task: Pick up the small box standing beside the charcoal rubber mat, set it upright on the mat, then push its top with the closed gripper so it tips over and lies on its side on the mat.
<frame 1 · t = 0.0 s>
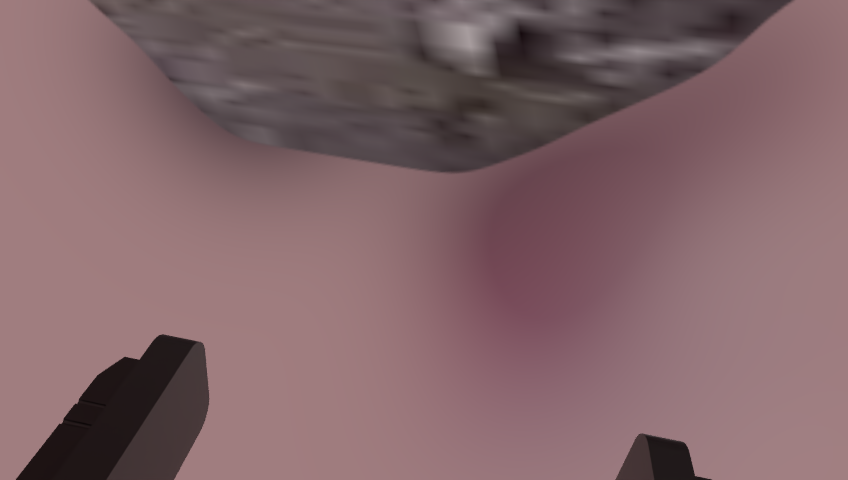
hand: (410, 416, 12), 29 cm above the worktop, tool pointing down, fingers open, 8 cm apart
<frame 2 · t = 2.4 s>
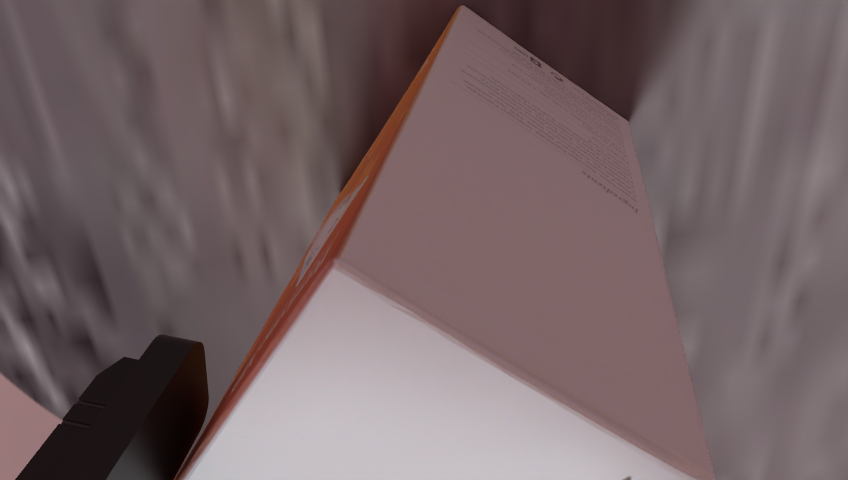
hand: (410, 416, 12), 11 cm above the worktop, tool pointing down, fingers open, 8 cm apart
small box: (472, 157, 21), on the worktop, touching gripper
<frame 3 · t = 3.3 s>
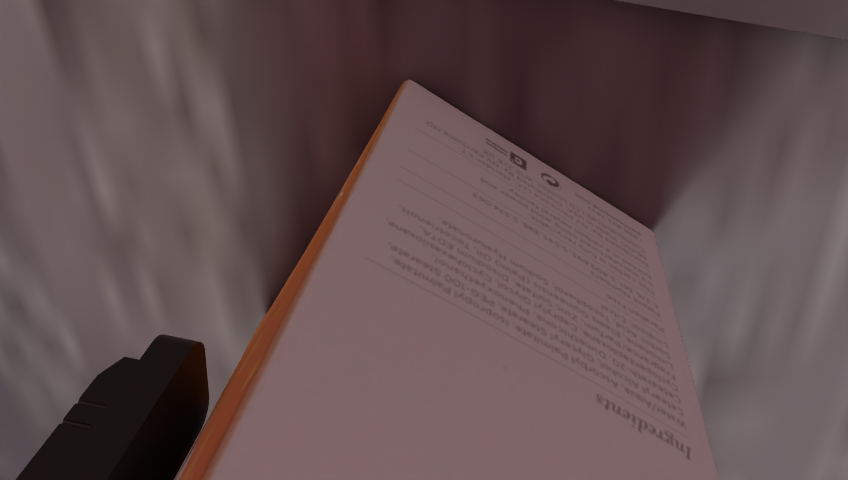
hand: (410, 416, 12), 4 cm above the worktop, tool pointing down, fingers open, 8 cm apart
small box: (438, 273, 15), on the worktop, touching gripper
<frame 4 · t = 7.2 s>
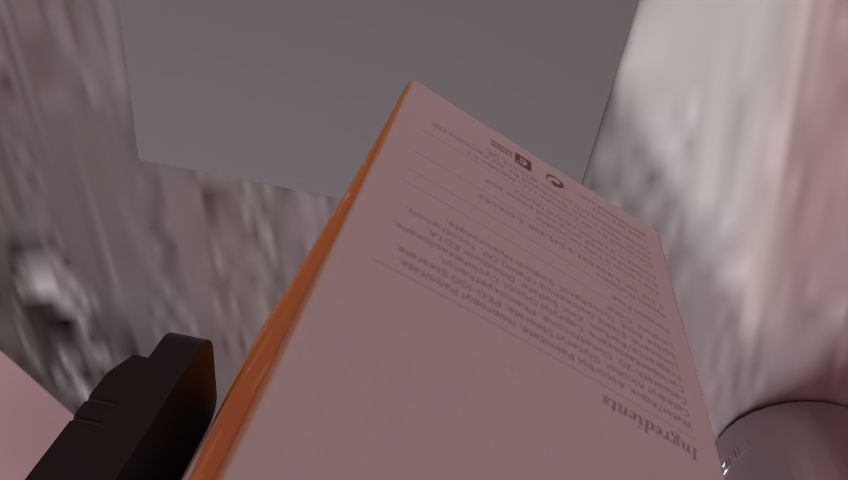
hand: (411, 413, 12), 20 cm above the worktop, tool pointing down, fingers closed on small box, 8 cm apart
mat: (362, 39, 28), on the worktop
small box: (442, 274, 15), point 16 cm above the worktop, touching gripper
when the fingers open (6 cm above the worktop, at t = 10.9 s): small box stays where it is, resting on mat.
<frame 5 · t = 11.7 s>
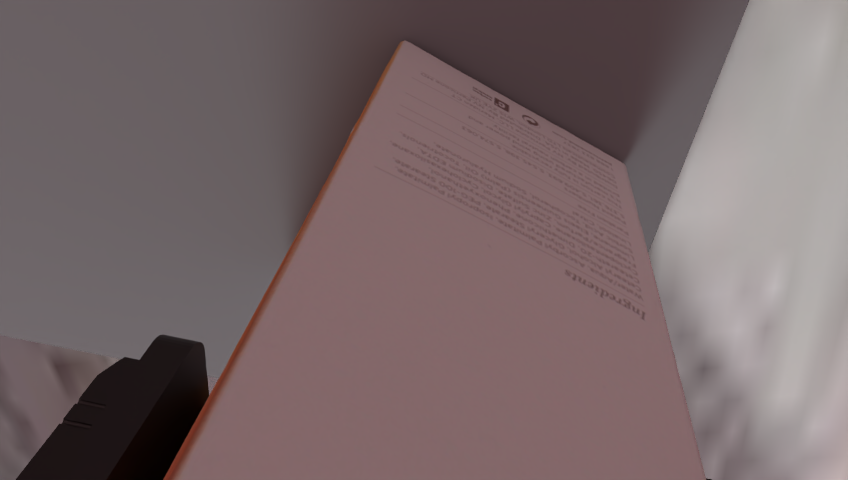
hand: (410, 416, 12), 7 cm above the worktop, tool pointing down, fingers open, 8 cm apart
mat: (252, 174, 18), on the worktop
small box: (440, 216, 17), resting on mat
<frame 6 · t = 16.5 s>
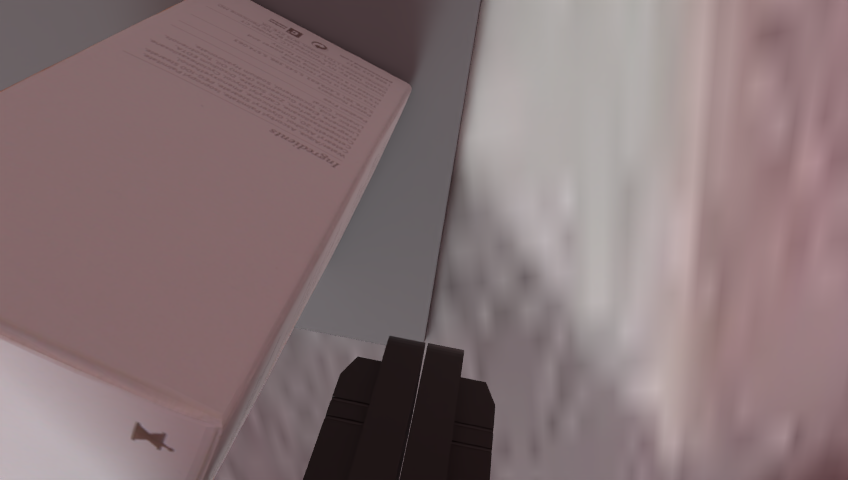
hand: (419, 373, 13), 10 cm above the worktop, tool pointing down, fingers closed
mat: (129, 104, 21), on the worktop
small box: (279, 140, 21), resting on mat, touching gripper
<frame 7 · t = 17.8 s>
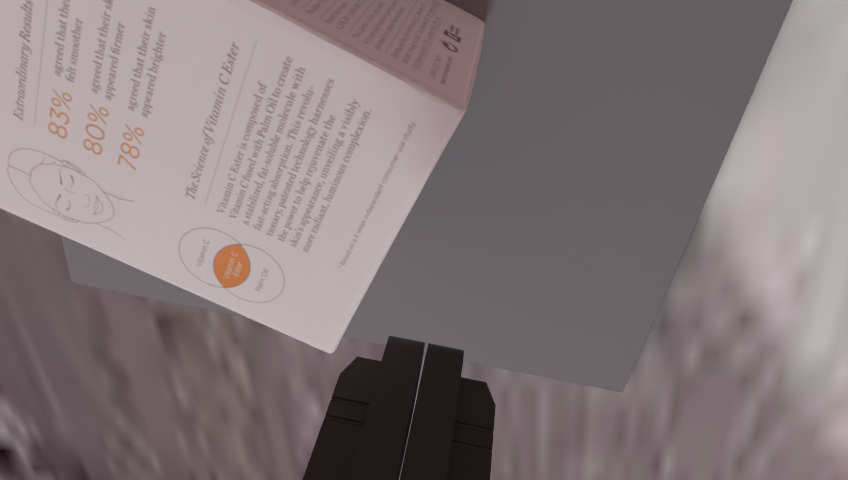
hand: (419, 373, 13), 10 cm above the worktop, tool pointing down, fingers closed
mat: (357, 144, 21), on the worktop
small box: (420, 191, 17), point 4 cm above the worktop, touching mat
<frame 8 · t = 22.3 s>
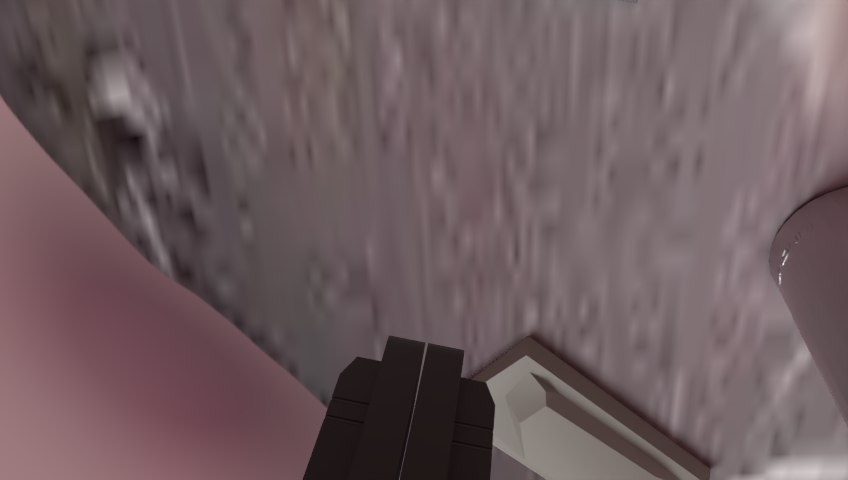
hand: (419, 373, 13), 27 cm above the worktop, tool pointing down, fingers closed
soap mold: (575, 426, 53), on the worktop
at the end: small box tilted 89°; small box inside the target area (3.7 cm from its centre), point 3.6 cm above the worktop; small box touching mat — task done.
